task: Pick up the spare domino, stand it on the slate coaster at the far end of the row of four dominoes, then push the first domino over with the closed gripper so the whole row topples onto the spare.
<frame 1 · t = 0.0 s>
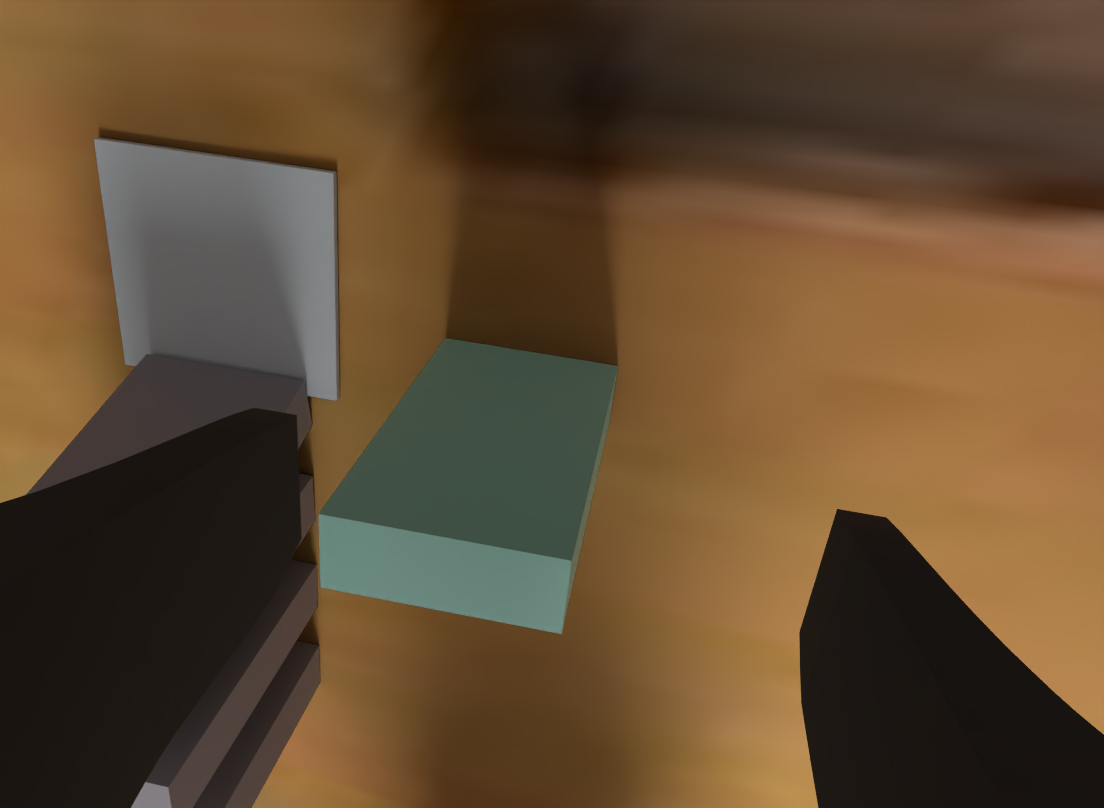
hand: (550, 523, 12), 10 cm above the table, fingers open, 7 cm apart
domino 1: (254, 650, 28), on the table
domino 3: (241, 485, 25), on the table, touching domino 4
domino 2: (248, 572, 27), on the table
coaster: (225, 273, 22), on the table
domino 5: (528, 380, 22), on the table
domino 4: (230, 389, 23), on the table, tilted 15°, touching domino 3
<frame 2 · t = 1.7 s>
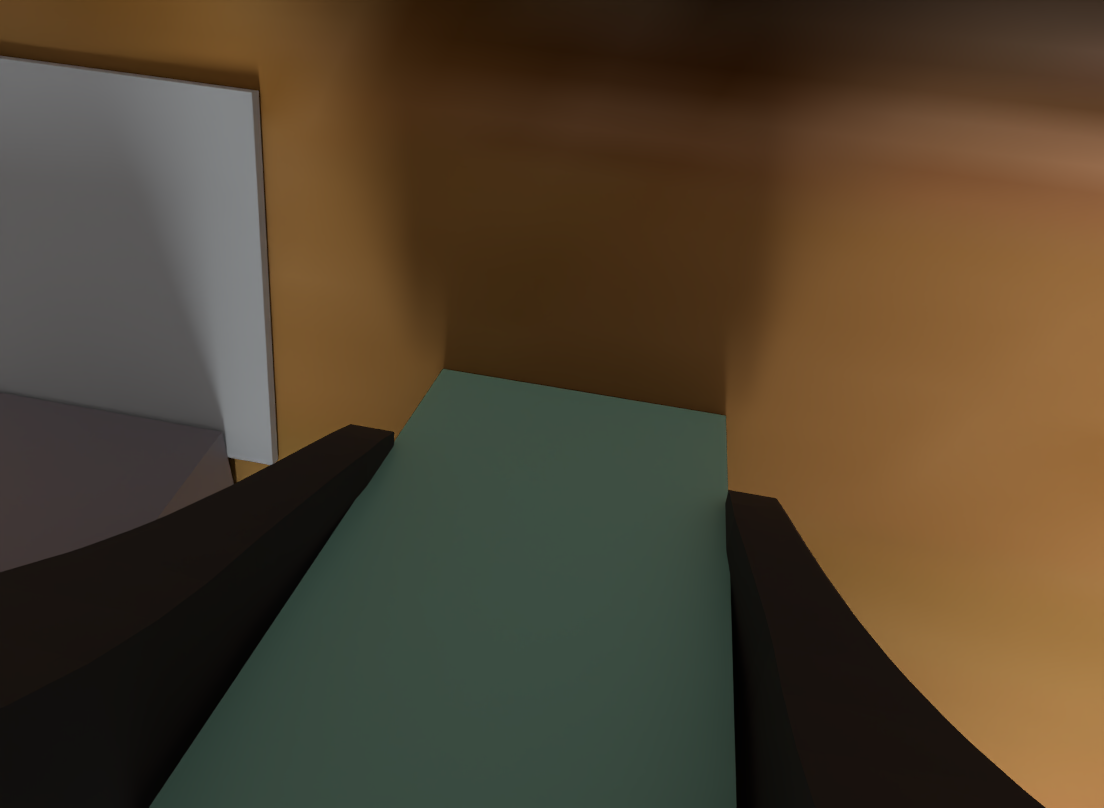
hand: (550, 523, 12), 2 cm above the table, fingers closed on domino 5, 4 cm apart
coaster: (89, 265, 14), on the table
domino 5: (576, 436, 14), on the table, touching gripper
domino 4: (110, 445, 15), on the table, tilted 11°, touching coaster
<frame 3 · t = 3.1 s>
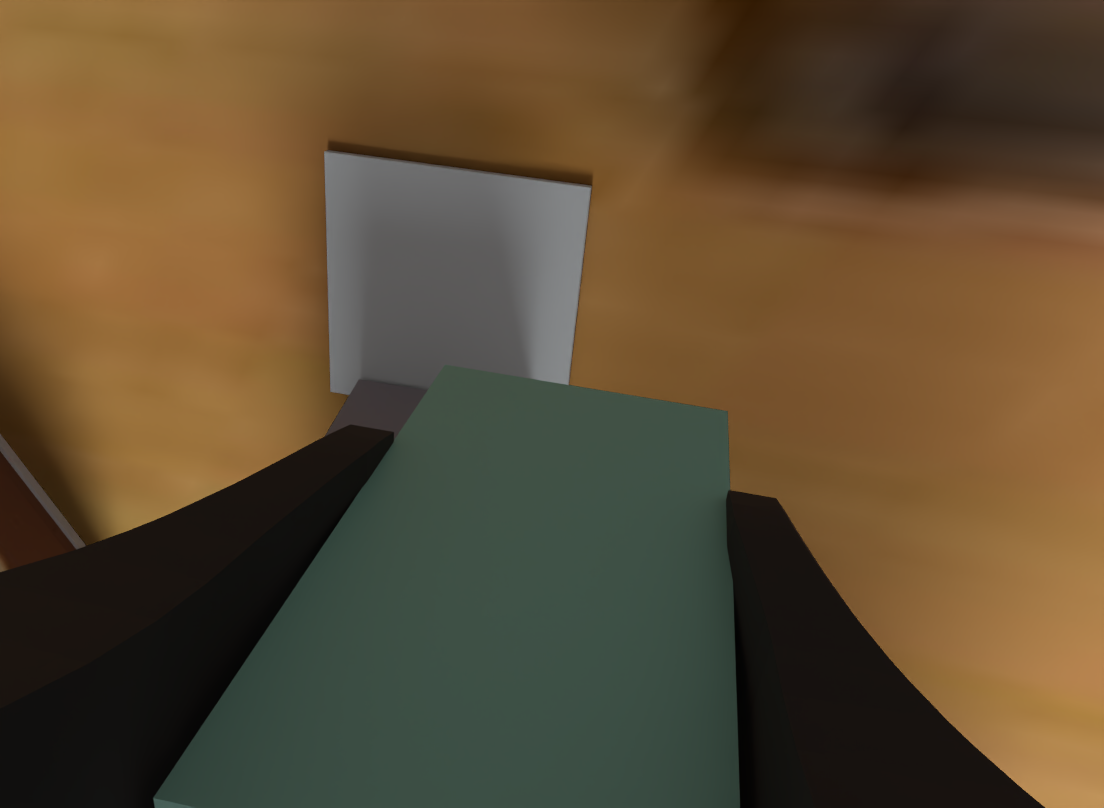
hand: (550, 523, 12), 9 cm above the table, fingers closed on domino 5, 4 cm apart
coaster: (452, 295, 21), on the table
domino 5: (578, 432, 14), point 7 cm above the table, touching gripper
domino 4: (445, 417, 22), on the table, tilted 11°, touching coaster
when the fingers open (4 cm above the table, at t = 4.9 s): domino 5 stays where it is, resting on coaster.
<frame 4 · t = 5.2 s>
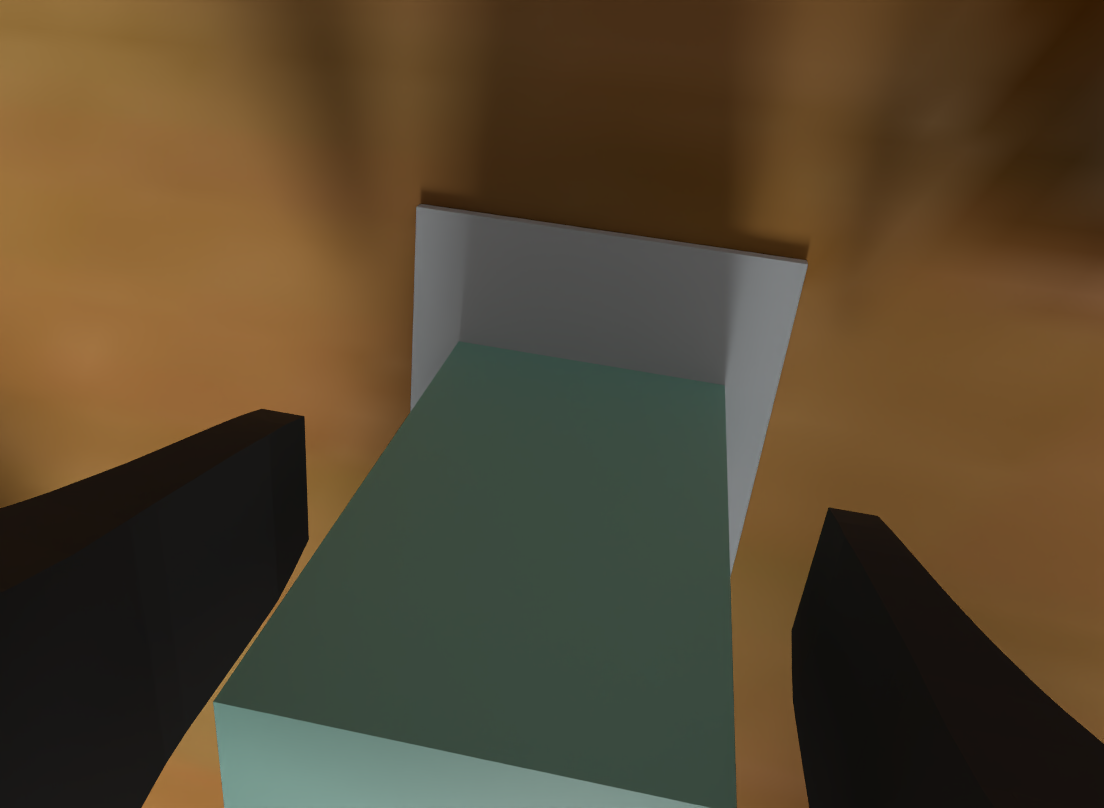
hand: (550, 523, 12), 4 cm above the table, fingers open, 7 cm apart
coaster: (585, 403, 15), on the table
domino 5: (583, 406, 15), resting on coaster
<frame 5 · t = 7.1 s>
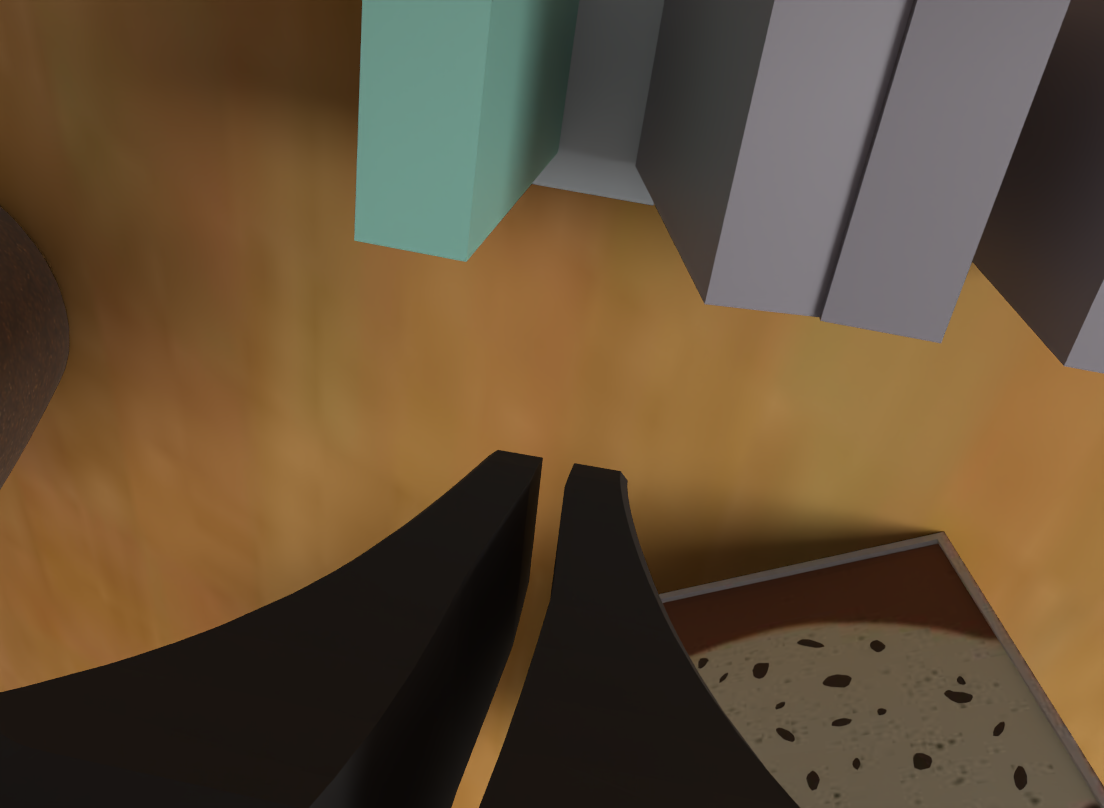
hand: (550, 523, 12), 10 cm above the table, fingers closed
domino 3: (847, 87, 18), on the table, touching domino 4
food container: (792, 652, 25), on the table
domino 2: (1007, 113, 17), on the table
coaster: (539, 37, 18), on the table
domino 5: (535, 38, 18), resting on coaster
domino 4: (692, 63, 18), on the table, tilted 11°, touching coaster, domino 3
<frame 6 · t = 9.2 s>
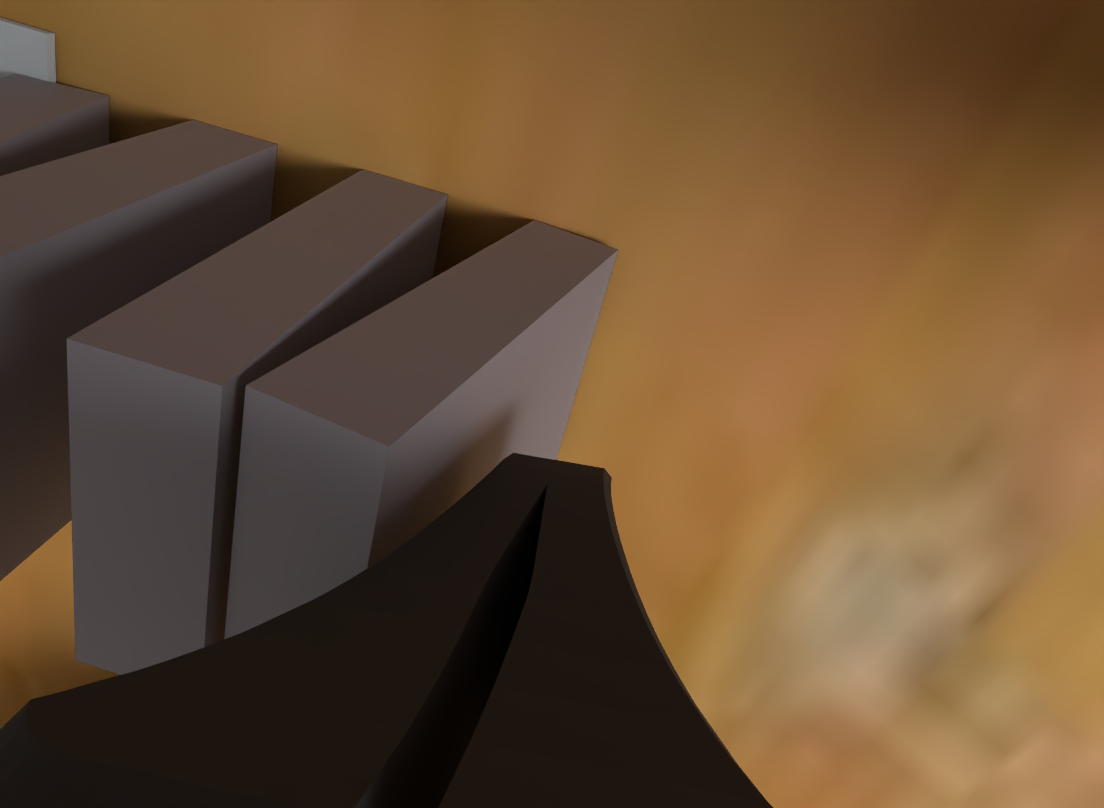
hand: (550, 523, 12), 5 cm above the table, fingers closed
domino 1: (546, 345, 16), on the table, tilted 10°
domino 3: (227, 246, 17), on the table
domino 2: (386, 294, 16), on the table
domino 4: (65, 202, 17), on the table, tilted 11°, touching coaster
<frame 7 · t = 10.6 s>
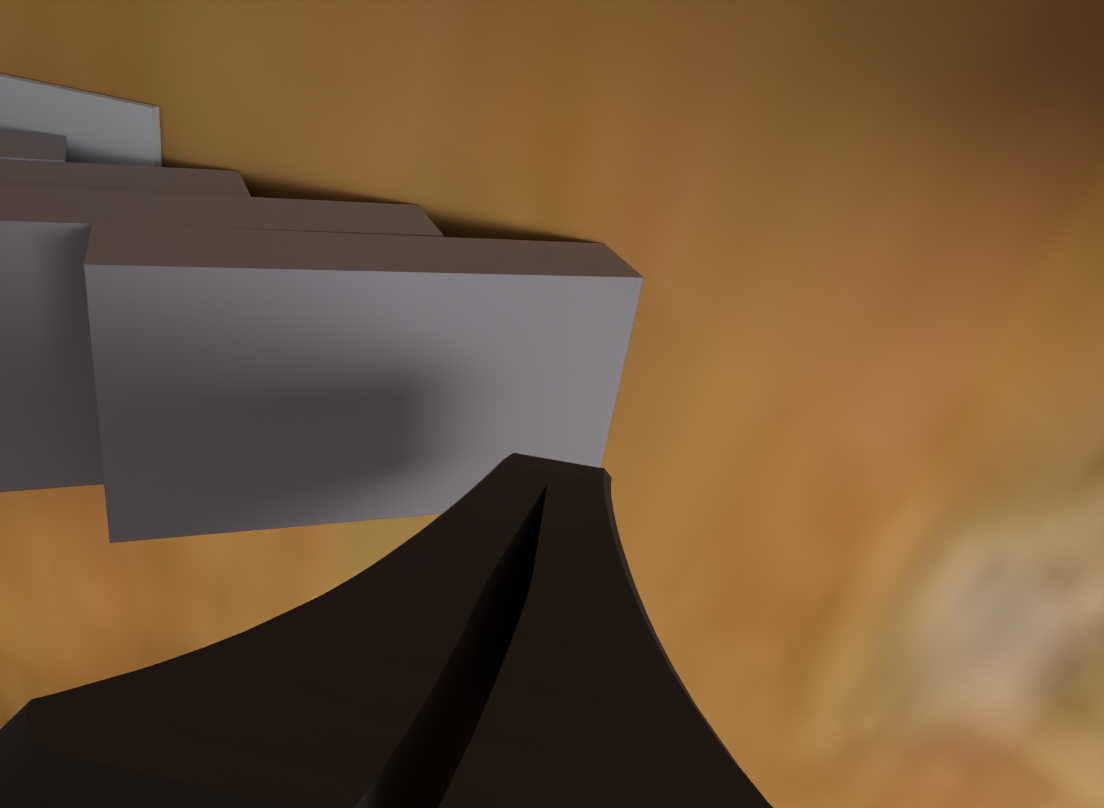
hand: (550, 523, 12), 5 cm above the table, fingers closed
domino 1: (598, 375, 16), point 1 cm above the table, tilted 59°, touching domino 2
domino 3: (244, 300, 16), point 1 cm above the table, tilted 56°, touching domino 2, domino 4
domino 2: (418, 335, 16), point 1 cm above the table, tilted 58°, touching domino 1, domino 3
coaster: (22, 233, 17), on the table
domino 4: (75, 266, 16), point 1 cm above the table, tilted 56°, touching domino 3, domino 5
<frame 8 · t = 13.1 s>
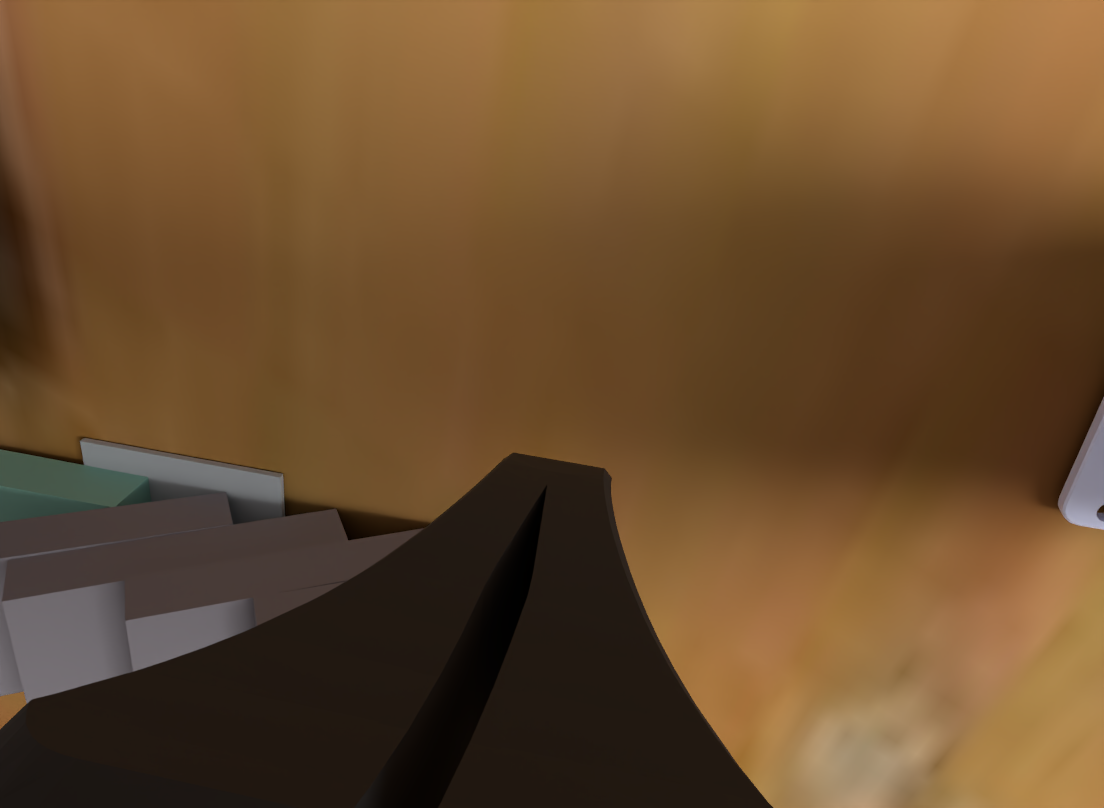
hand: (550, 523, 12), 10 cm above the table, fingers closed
domino 1: (560, 626, 24), point 1 cm above the table, tilted 58°, touching domino 2
domino 3: (342, 587, 25), point 1 cm above the table, tilted 56°, touching domino 2, domino 4
domino 2: (446, 604, 25), point 1 cm above the table, tilted 57°, touching domino 1, domino 3
coaster: (192, 541, 26), on the table
domino 5: (140, 555, 25), point 1 cm above the table, tilted 90°, touching coaster, domino 4
domino 4: (233, 570, 25), point 1 cm above the table, tilted 56°, touching domino 3, domino 5
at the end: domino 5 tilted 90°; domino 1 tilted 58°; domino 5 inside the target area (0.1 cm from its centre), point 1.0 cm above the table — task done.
